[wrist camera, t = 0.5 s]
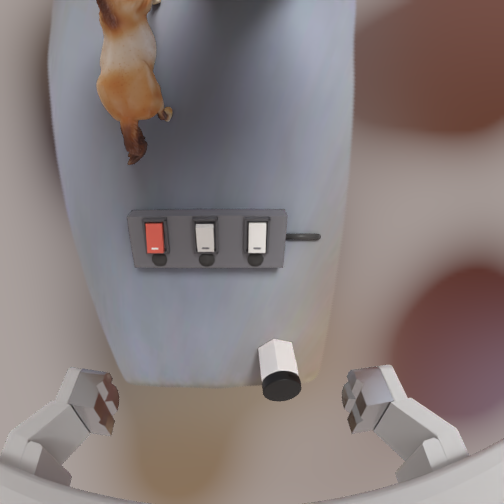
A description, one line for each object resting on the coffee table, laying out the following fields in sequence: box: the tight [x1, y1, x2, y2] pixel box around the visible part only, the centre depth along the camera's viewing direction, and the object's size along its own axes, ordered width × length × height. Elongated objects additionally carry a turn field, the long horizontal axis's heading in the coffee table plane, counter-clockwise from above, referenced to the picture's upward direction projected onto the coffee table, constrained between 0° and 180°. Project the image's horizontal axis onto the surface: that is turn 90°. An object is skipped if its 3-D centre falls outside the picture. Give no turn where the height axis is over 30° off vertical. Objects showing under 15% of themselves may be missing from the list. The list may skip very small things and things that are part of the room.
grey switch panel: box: [127, 209, 321, 268], centre depth 55 cm, size 10×34×4 cm, turn 88°
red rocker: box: [145, 222, 164, 253], centre depth 51 cm, size 5×3×2 cm, turn 178°
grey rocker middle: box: [196, 224, 214, 252], centre depth 52 cm, size 5×3×2 cm, turn 179°
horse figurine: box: [96, 0, 172, 165], centre depth 32 cm, size 31×8×21 cm, turn 3°
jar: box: [258, 339, 301, 401], centre depth 66 cm, size 9×8×12 cm
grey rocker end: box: [248, 222, 266, 253], centre depth 52 cm, size 5×3×2 cm, turn 178°
